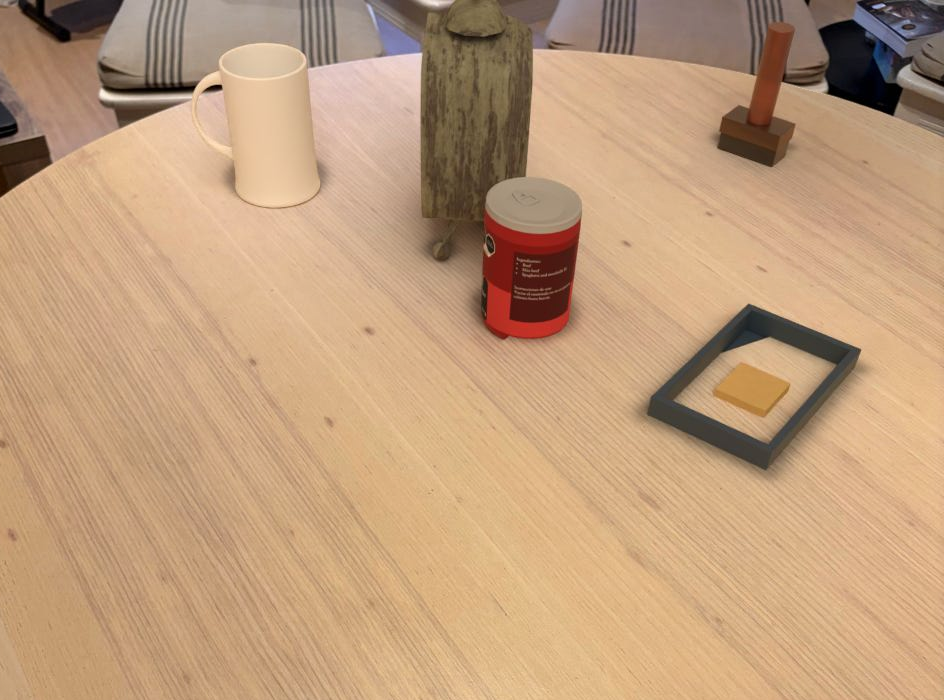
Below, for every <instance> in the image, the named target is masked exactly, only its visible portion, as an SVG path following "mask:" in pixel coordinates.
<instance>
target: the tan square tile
mask: <svg viewBox="0 0 944 700" xmlns="http://www.w3.org/2000/svg"><path fill="white" fill-rule="evenodd" d="M790 387H791V382H789V381H787V380H784V379H782V378H780V377H777V376H775V375H773V374H771V373H768V372H766V371H764V370H762V369H758V368H757V367H754V366H752V365H750V364H747V363H745V362H742V361H741V362H740V363H739V364H738V365H737V366H735V368H734V369H733V370H732V371H731V372H730V373H729V374H728V375H727V376H726V377H725V378H724V379H723V380H722V381H721V382H720V383H719V384H718V385H717V386H716V387H715V389H714V392H713V397H714V398H718V399H720V400H722V401H724V402H726V403H728V404H731V405H732V406H735V407H736V408H740V409H742V410H744V411H746V412H749V413H751V414H753V415H755V416H757V417H760V418H761V419H764V418H766V417H767V415H769V413H770V412H771V411H772V410H773V409H774V407H776V405H777V404H778V403H779V402H780V401H781V400H782V399H783V398H784V397H785V396H786V394H788V392H789V391H790Z"/></svg>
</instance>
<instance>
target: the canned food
mask: <svg viewBox="0 0 944 700" xmlns="http://www.w3.org/2000/svg"><path fill="white" fill-rule="evenodd" d="M582 216H583V203H582V199H581V198H580V196H579V194H578V193H577V192H576V191H575V190H573V189H572V188H570V187H569V186H567V185H565V184H564V183H562V182H559V181H556V180H554V179H553V180H552V179H548V178H543V177H538V176H537V177H535V176H526V177H519V178H513V179H508V180H505V181H502V182H500V183H498V184H496V185H494V186H493V187H492V188H491V189H490V190H489V191H488V193H487V196H486V203H485V216H484V221H483V241H482V243H483V244H482V268H481V271H482V272H481V293H480V296H481V297H480V313H481V315H482V320H483V322H484V325H485V326H486V328H487V329H488V330H489V331H490V332H491V333H492V334H493V335H496V336H497V337H498V338H501V339H502V340H506V339H508V337H511V338H512V337H513V338H516V339H525V340H535V339H543V338H548V337H550V336H553V335H555V334H557V333H559V332H561V331H562V330H563V329H564V328H565V327H566V326H567V324H568V322H569V318H570V314H571V305H572V297H573V289H574V282H575V273H576V267H577V266H576V265H577V260H578V259H577V258H578V249H579V244H580V243H579V242H580V234H581V226H582Z"/></svg>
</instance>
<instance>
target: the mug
mask: <svg viewBox="0 0 944 700" xmlns="http://www.w3.org/2000/svg"><path fill="white" fill-rule="evenodd" d="M218 69H219V70H217V71H214V72H211V73H209V74H207V75H206V76H205V77H203V78H202V79H201V80H200V81H199V82H198V83H197V85H196V86H195V88H194V90H193V92H192V95H191V101H190V113H191V114H190V115H191V118H192V122H193V126H194V127H195V129H196V132H197V133H198V135H199V136H200V138H201V139H202V141H203V142H204V143H205V144H206V145H207V147H209V148H210V149H211V150H213V151H214V152H216V153H217V154H219V155H220V156H222V157H225V158H228V159H229V160H233V165H234V175H235V181H234V189H235V191H236V194H237V195H238V197H240V198H241V199H242V200H243V201H244V202H247V203H248V204H251V205H253V206H256V207H257V206H258V207H263V208H269V209H270V208H273V209H281V208H289V207H294V206H298V205H301V204H304V203H306V202H308V201H310V199H312V198H314V197H315V196H316V195H317V194H318V192H319V191H320V189H321V178H320V175H319V172H318V167H317V166H318V165H317V156H316V147H315V145H316V144H315V136H314V135H315V134H314V124H313V114H312V113H313V112H312V103H311V93H310V92H311V91H310V81H309V70H308V60H307V56H306V55H305V54H304V53H303V52H302V51H301V50H300V49H297V48H296V47H294V46H293V47H292V46H290V45H286V44H281V43H272V42H259V43H258V42H257V43H249V44H245V45H240V46H237V47H234V48H232V49H230V50H228V51H226V52H225V53H223V54H222V55H221V56H220V57H219V60H218ZM216 85H219V86H221V87H222V88H221V89H222V94H223V100H224V107H225V114H226V120H227V127H228V133H229V139H230V140H229V141H230V145H224V144H222V143H220V142H218V141H217V140H214V139H213V138H212V137H211V136H210V135H209V134H208V133H207V132H206V130H205V129H204V128H203V126H202V124H201V122H200V119H199V117H198V112H197V111H198V110H197V107H198V100H199V98H200V96H201V94H202V93H203V92H204V91H205V90H207V88H210V87H211V86H216Z"/></svg>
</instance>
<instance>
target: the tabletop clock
mask: <svg viewBox="0 0 944 700" xmlns="http://www.w3.org/2000/svg"><path fill="white" fill-rule="evenodd" d="M533 35H534V34H533V28H531V27H530V26H528V25H527V24H525V22H522V21H520V20H519V19H518V18H516V17H515V16H513V15H507V14H505V12H504V10H503V8H502V6H501V5H500V3H499V2H498V1H497V0H454V1H453V2H451V4H450V6H449V7H448V9H447V11H446V12H440V11H439V12H438V11H436V12H435V11H428V12H427V18H426V23H425V28H424V37H423V44H422V53H421V65H420V119H419V120H420V205H421V206H420V210H421V219H435V220H436V219H437V220H448V222H447V226H446V228H445V232H444V235H443V238H442V241H438V242H436V243H435V245H434V246H433V248H432V253H433V255H434V256H433V257H434V258H436V260H439V261H444V260H446V259H448V258H449V256H450V255H451V248H450V245H449V242H450V240H451V238H452V236H453V234H454V232H455V230H456V228H457V227H458V226H459V224H460V223H461V222H462V221H480V222H484V216H485V203H486V196H487V193H488V191H489V190H490V189H491V188H492V187H493V186H494V185H496V184H498V183H500V182H502V181H505V180H508V179H513V178H519V177H527V168H528V167H527V166H528V152H529V138H530V128H531V127H530V126H531V115H532V113H531V112H532V98H533V97H532V96H533V83H534V82H533V80H534V79H533V77H534V46H533V45H534V42H533V41H534V38H533Z"/></svg>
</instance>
